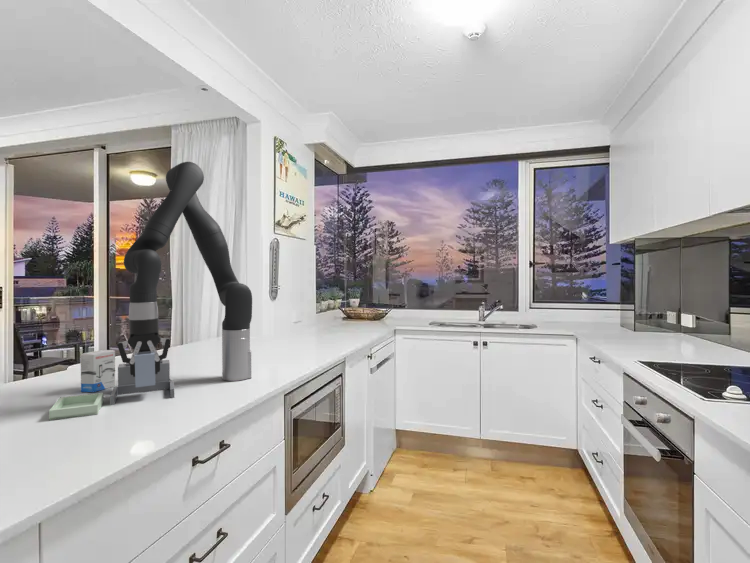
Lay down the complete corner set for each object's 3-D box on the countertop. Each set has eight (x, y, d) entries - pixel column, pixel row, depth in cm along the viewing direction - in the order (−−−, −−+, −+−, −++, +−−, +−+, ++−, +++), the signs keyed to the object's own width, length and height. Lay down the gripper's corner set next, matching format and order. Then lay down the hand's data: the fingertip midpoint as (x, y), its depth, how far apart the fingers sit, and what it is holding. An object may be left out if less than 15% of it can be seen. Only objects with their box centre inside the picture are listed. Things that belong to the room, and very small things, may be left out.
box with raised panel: (155, 379, 127) (154, 347, 127) (155, 384, 120) (154, 351, 120) (136, 381, 125) (135, 349, 124) (135, 387, 118) (134, 353, 117)
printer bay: (172, 383, 138) (172, 357, 137) (174, 397, 122) (174, 368, 122) (116, 389, 130) (115, 362, 130) (109, 405, 114) (109, 374, 114)
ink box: (93, 393, 127) (93, 354, 127) (79, 392, 128) (79, 354, 128) (116, 385, 135) (116, 349, 135) (103, 385, 136) (103, 349, 136)
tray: (103, 401, 118) (103, 392, 118) (97, 414, 107) (97, 405, 107) (60, 406, 114) (60, 397, 114) (49, 420, 102) (49, 410, 102)
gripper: (170, 315, 129) (171, 369, 129) (116, 318, 122) (117, 375, 122) (171, 317, 122) (173, 374, 122) (114, 320, 115) (115, 381, 116)
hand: (145, 374), depth 122 cm, fingers closed on box with raised panel, 5 cm apart
